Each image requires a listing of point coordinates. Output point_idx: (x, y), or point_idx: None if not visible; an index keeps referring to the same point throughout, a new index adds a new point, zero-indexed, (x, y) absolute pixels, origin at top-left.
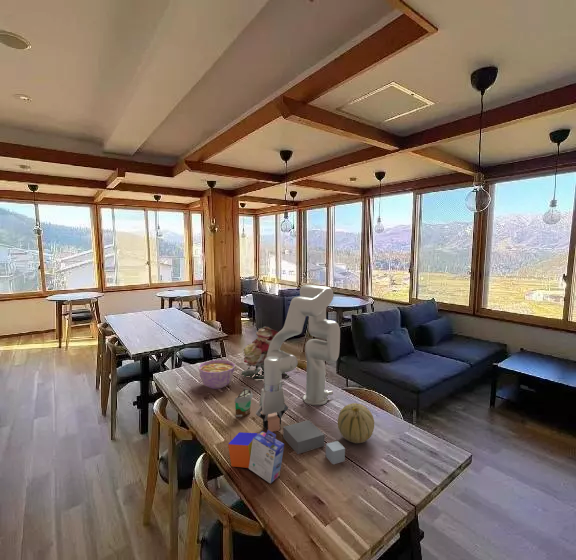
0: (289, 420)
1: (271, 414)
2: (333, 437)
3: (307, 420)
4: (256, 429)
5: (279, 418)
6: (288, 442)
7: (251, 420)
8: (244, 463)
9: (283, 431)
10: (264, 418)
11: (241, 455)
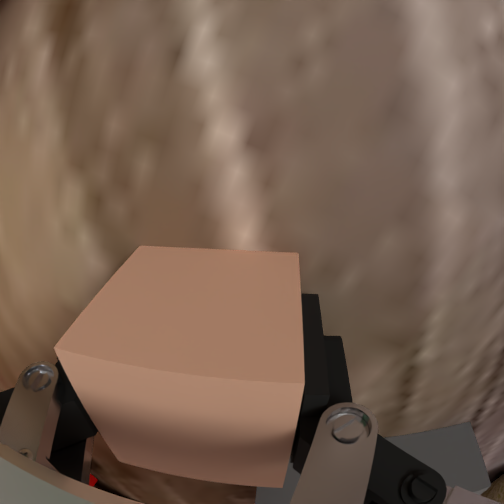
0: (493, 253)
1: (191, 387)
2: (486, 464)
3: (480, 490)
4: (55, 264)
5: (280, 486)
6: None
7: (34, 57)
8: None
9: (257, 488)
10: (56, 448)
11: None
